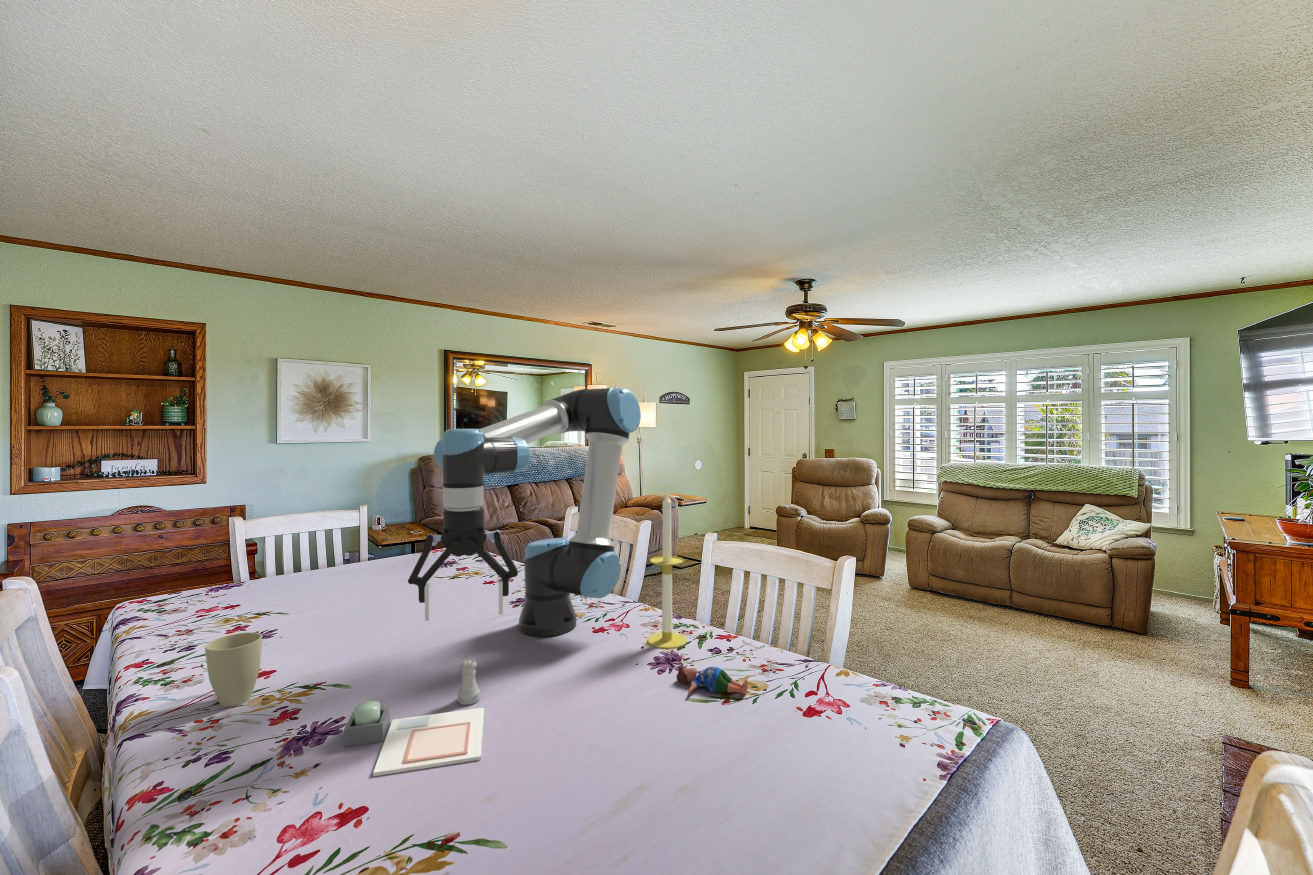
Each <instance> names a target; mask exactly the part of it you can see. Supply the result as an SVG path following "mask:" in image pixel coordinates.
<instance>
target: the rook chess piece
mask: <svg viewBox="0 0 1313 875" xmlns="http://www.w3.org/2000/svg"><path fill="white" fill-rule="evenodd" d="M477 666H478V663H477V661H476V659H475V658H474V657H472V658H471V657H467V659H466V658H464V659H462V660H461V663H460V665H459V668H460V669H461V670H462V672H461V674H460V675H461V677H462V678H461V686H460V688H459V690H458V692H457V699H456V701H457V702H458V703H459V704H460V705H462V706H470V705H473V704H476V703H478V702H479V700H480V699H481V697H482V695H481V689H480V688H479V685H478V684H477V679H476V673H477V670H476V667H477Z"/></svg>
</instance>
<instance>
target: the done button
mask: <svg viewBox="0 0 1313 875" xmlns="http://www.w3.org/2000/svg"><path fill="white" fill-rule="evenodd" d="M380 708H381V703H380V702H379V701H378V700H368V701H363V702H362V703H359V704H358V705H356V706H355V707H354V709H353V710H354V711H353V712H354V716H355V726H358V725H366V724H373V723H379V722H380Z"/></svg>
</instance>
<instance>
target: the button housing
mask: <svg viewBox="0 0 1313 875" xmlns="http://www.w3.org/2000/svg"><path fill="white" fill-rule="evenodd" d="M390 718H391V717H390V706H387V707H380V722H379V723H373V724H366V725H358V726H355V716H354V711H352V713H351V715H350V717H349V719H348V721H347V722H346V725H345V726H344V729H343V740H344V741H343V744H344V747H352V746H353V747H354V746H359V745H367V744H375V743H381V742H384V741H385V738H386V735H387V733H388V730H389V727H390V725H391V723H390V722H391V719H390Z"/></svg>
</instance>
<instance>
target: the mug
mask: <svg viewBox="0 0 1313 875" xmlns="http://www.w3.org/2000/svg"><path fill="white" fill-rule="evenodd" d="M262 642H263V635H262V634H261V633H259V632H246V631H245V632H237V633H234V634H228V635H224V636H220V637H217V638H215V639H213V640H211V641H209V642H208V643H206V644H205V646H204V651H205V658H206V667H207V675H208V681H209V683H210V685H211V687H212V690H213V692H214V694H215V696H216V698H217V701H218V703H219V705H220V706H221V707H224V708H231V707H236V706H240V705H243V704H245V703H247V702H248V701H250V700H251V699H252V696H253V692H254V689H255V686H256V683H257V680H258V677H259V673H260V670H261V661H262V647H263V646H262V644H263V643H262Z"/></svg>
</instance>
